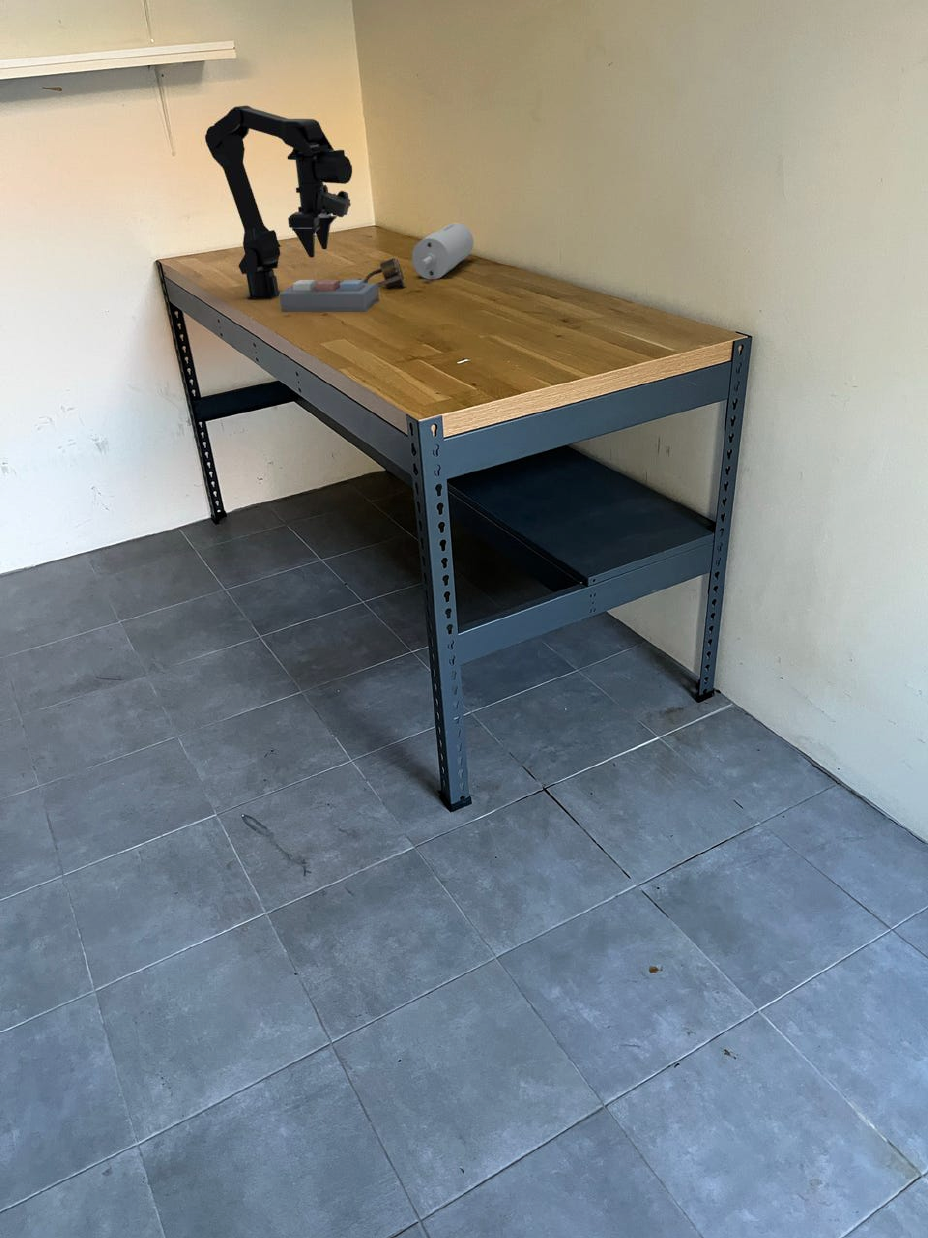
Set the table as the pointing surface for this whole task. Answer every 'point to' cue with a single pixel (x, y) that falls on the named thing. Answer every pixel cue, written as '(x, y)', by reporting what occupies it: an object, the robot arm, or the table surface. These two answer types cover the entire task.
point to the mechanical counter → (388, 274)
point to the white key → (304, 285)
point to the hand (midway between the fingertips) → (318, 253)
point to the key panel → (329, 299)
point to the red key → (328, 285)
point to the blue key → (351, 285)
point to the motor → (442, 251)
